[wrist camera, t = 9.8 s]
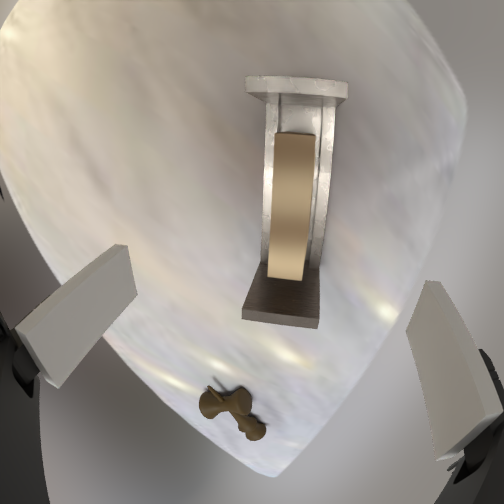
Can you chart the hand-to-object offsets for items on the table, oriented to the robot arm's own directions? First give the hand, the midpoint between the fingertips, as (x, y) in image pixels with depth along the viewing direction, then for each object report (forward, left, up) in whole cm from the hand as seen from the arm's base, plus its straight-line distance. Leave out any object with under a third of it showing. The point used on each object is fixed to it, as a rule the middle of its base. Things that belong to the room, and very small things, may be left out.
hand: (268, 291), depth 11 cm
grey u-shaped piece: (0, 0, -22) cm, 22 cm away
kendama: (+45, -7, -23) cm, 51 cm away
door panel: (0, 0, -21) cm, 21 cm away
